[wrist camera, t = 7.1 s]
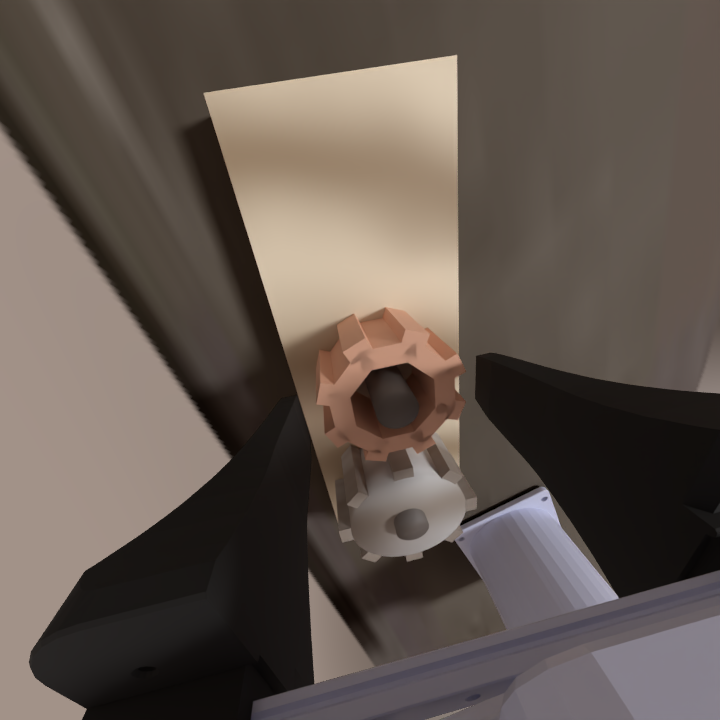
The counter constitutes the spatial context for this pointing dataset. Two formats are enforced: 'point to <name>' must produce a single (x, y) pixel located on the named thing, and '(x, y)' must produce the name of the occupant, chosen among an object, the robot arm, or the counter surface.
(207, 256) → the counter surface
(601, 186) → the counter surface
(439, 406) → the gear
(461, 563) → the counter surface
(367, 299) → the board
